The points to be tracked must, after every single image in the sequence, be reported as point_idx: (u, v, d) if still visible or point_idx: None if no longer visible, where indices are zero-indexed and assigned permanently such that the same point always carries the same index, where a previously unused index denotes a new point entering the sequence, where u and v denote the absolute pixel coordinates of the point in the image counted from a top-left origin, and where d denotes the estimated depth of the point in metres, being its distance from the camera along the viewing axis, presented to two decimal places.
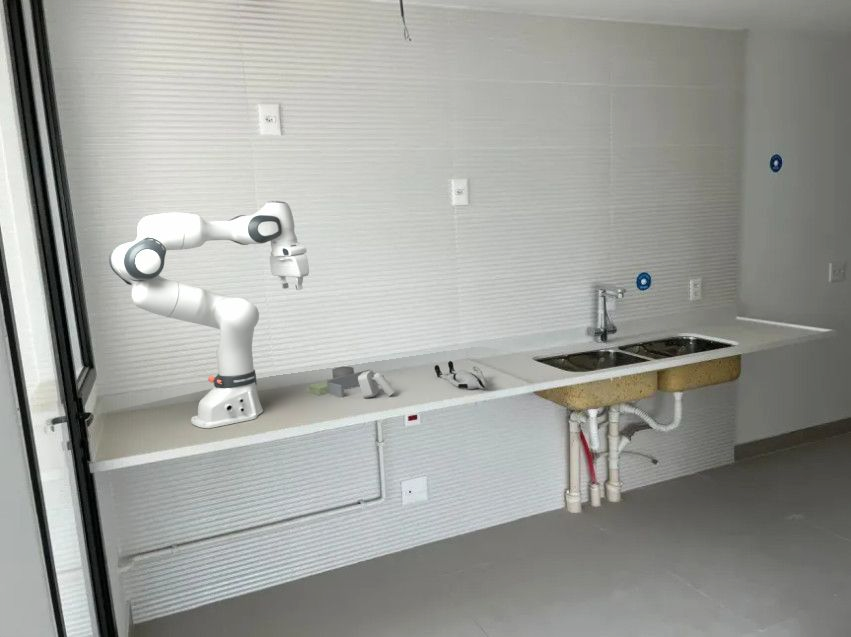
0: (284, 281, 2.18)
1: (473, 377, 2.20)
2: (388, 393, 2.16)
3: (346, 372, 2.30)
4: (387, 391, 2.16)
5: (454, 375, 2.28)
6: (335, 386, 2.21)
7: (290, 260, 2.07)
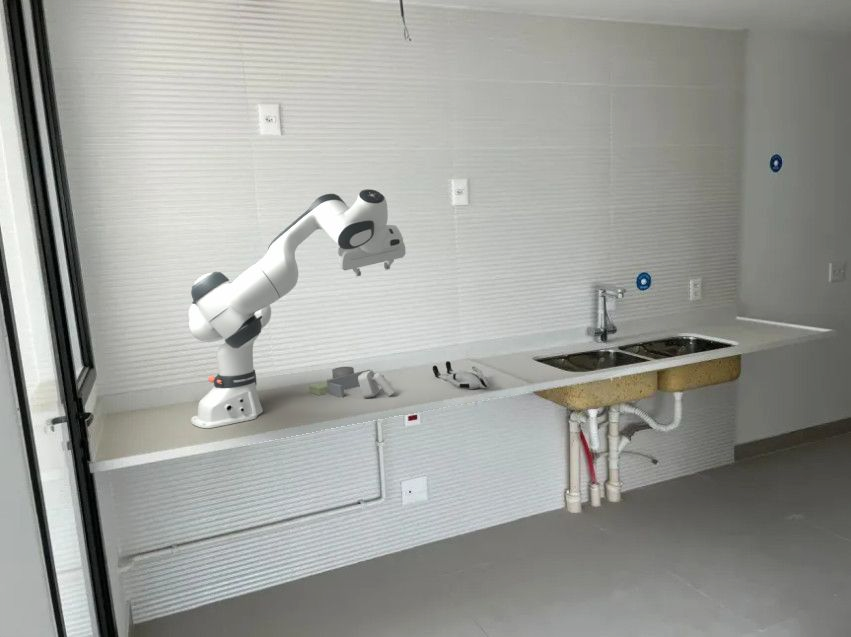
0: (356, 269, 1.90)
1: (474, 377, 2.21)
2: (388, 393, 2.16)
3: (346, 372, 2.30)
4: (387, 391, 2.16)
5: (454, 375, 2.28)
6: (335, 386, 2.21)
7: (392, 247, 1.85)
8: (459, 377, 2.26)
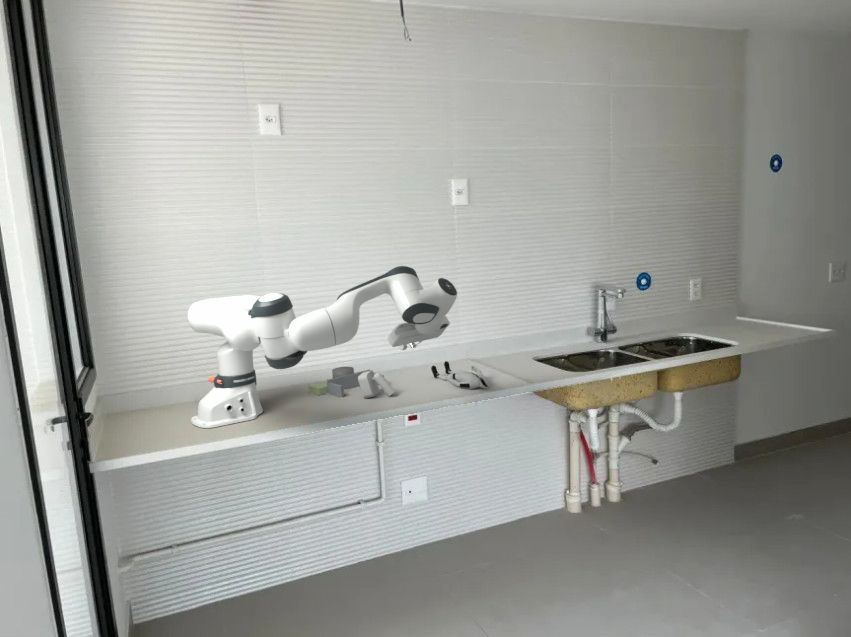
0: None
1: (474, 376, 2.21)
2: (388, 393, 2.16)
3: (346, 372, 2.30)
4: (387, 391, 2.16)
5: (453, 375, 2.28)
6: (335, 386, 2.21)
7: None
8: (459, 377, 2.26)
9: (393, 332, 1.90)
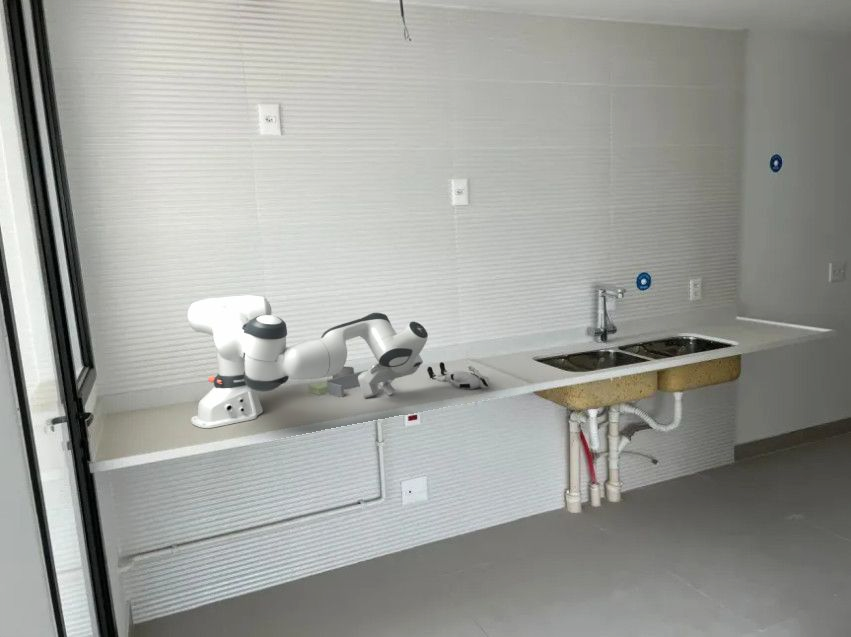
0: None
1: (474, 377, 2.21)
2: (388, 392, 2.16)
3: (346, 372, 2.30)
4: (387, 390, 2.16)
5: (452, 376, 2.28)
6: (335, 386, 2.21)
7: None
8: (457, 377, 2.25)
9: (369, 371, 2.04)
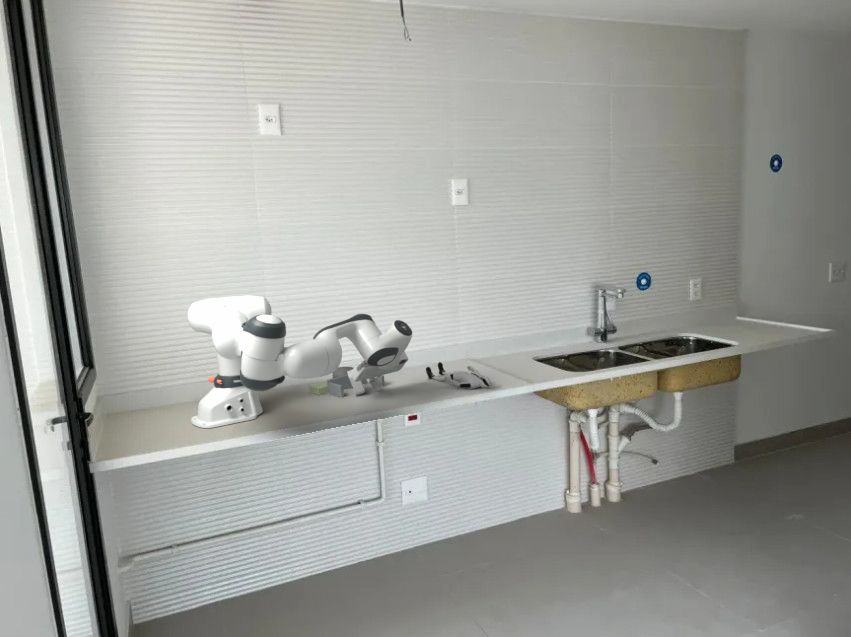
0: None
1: (474, 376, 2.21)
2: (378, 387, 2.22)
3: (346, 372, 2.30)
4: (377, 385, 2.22)
5: (451, 376, 2.28)
6: (335, 386, 2.21)
7: None
8: (457, 377, 2.25)
9: (355, 368, 2.10)
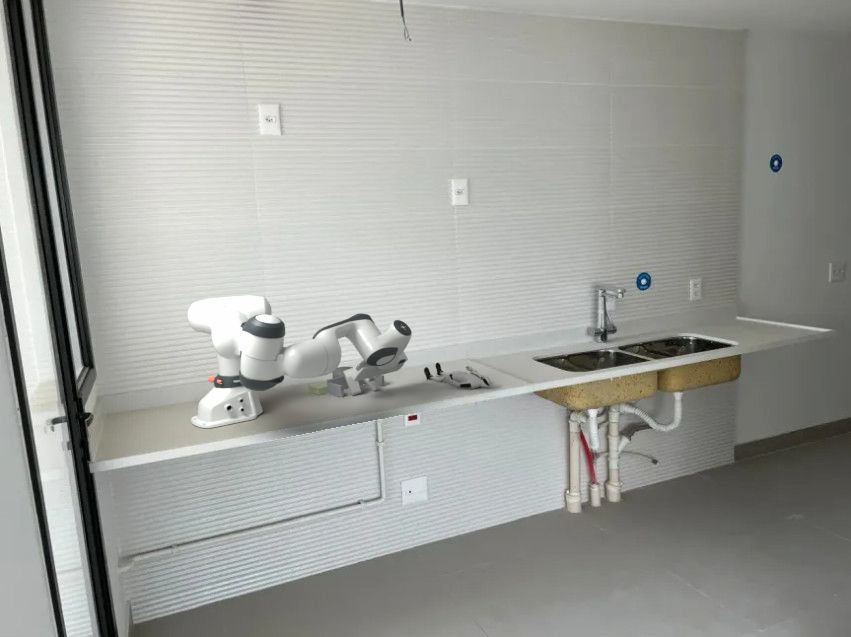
0: None
1: (474, 376, 2.21)
2: (374, 388, 2.24)
3: None
4: (373, 386, 2.24)
5: (450, 376, 2.28)
6: (335, 386, 2.21)
7: None
8: (457, 377, 2.25)
9: (355, 368, 2.10)
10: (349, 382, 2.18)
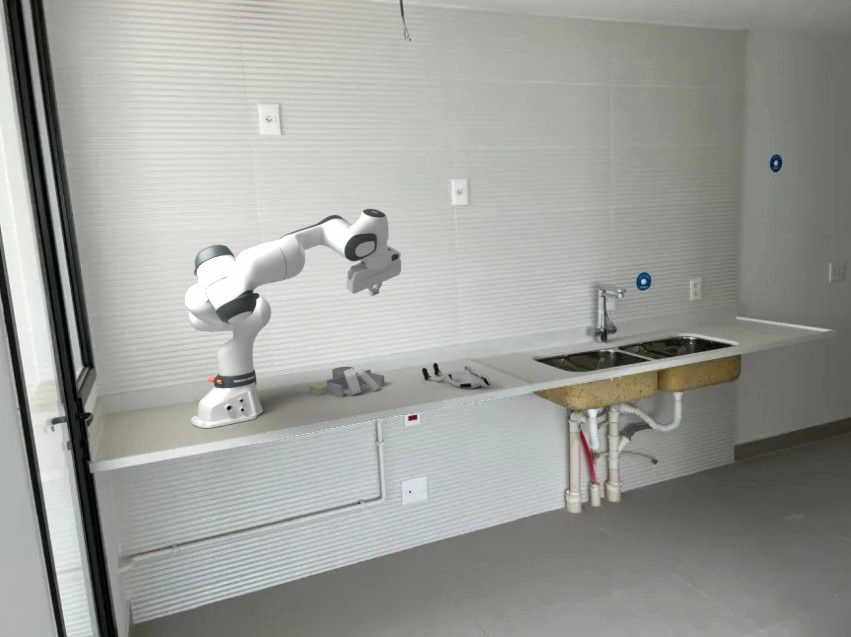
0: None
1: (474, 376, 2.21)
2: (374, 388, 2.24)
3: None
4: (373, 386, 2.24)
5: (449, 376, 2.27)
6: (335, 386, 2.21)
7: (391, 263, 2.02)
8: (456, 377, 2.25)
9: (348, 279, 1.95)
10: (349, 382, 2.18)
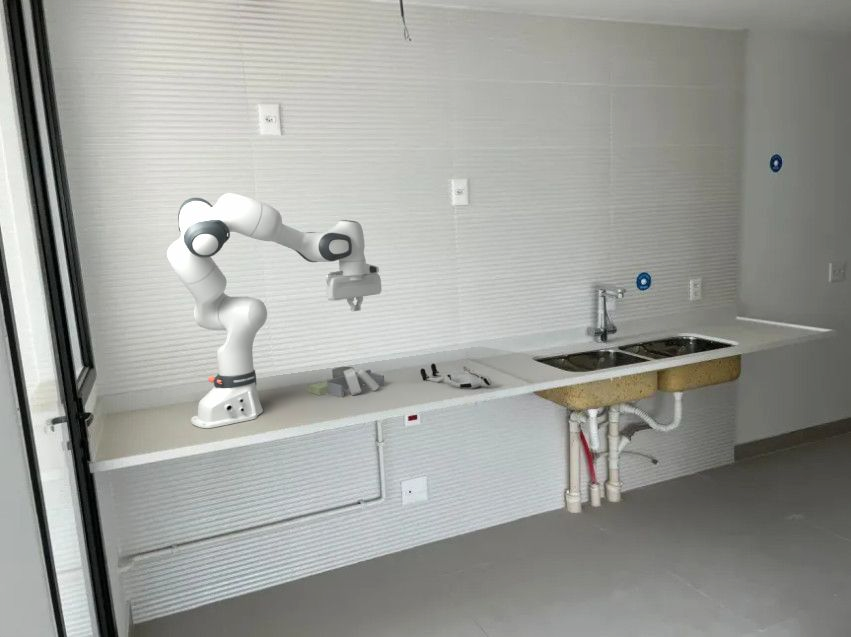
0: None
1: (474, 376, 2.22)
2: (374, 388, 2.24)
3: None
4: (373, 386, 2.24)
5: (449, 376, 2.27)
6: (335, 386, 2.21)
7: (370, 278, 2.09)
8: (456, 378, 2.25)
9: (327, 286, 2.02)
10: (349, 382, 2.18)
